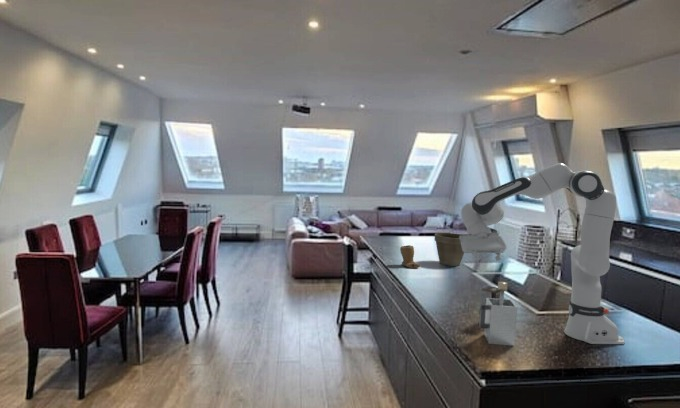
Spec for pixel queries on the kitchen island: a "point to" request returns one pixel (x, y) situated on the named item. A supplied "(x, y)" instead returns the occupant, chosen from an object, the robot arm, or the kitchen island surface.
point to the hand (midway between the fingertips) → (489, 260)
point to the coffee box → (488, 295)
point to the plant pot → (449, 248)
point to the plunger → (502, 291)
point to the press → (499, 321)
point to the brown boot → (408, 256)
